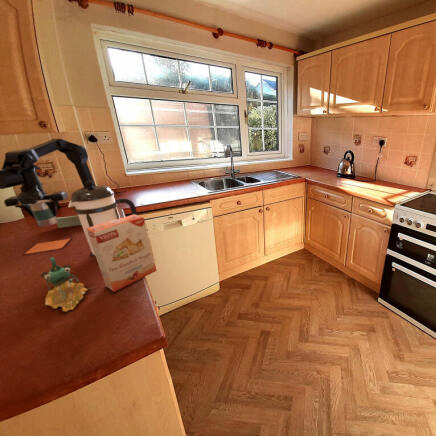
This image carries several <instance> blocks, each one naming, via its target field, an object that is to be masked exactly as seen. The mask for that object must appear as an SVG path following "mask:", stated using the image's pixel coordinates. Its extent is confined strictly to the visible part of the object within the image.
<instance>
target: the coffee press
mask: <svg viewBox="0 0 436 436" xmlns="http://www.w3.org/2000/svg"><path fill="white" fill-rule="evenodd" d="M85 184H86V186H88V187H84V186H83V187H81V188H78V189H75V190H74V191H73V192H72V193H71V196H70V200H69V203H68V208H73V207H74V211H75V213H76V215H78V216H79V219H80V222H81V224H82V225H81V226H82V227H81V228H82V229H83V233H84V236H85V238H86V241H87V243H88V246H89V249H90V255H91V256H95V253H94V250H93V247H92V244H91V241H90V238H89V235H88V232H87V230H86V228H89V227H92V226H96V225H99V224H103V223H106V222H110V221H113V220H117V219H120V218H121V216H120V212H119V209H118V205H119V204H127V205H128V207H129V209H130V211H131V212H130V213H131V215H134V214H135V215H138V211H137V207H136V206H135V203H134V202H133V201H132V200H130V199H128V198H118V199H115V192H114V190H112V189H111V188H110V187H109V186H106V185H96V186H92V185H93V182H92V181H86V182H85ZM138 216H139V215H138Z"/></svg>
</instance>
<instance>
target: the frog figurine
mask: <svg viewBox="0 0 436 436" xmlns="http://www.w3.org/2000/svg"><path fill="white" fill-rule="evenodd" d="M49 261H50V263H51V265H52V267H50V268H49V271H48V272H47V271H44V272H42V273H41V275H40V278H44V279H45V280H46V283H47V284H46V286H47V287H48V291H47V294H46V296H45V298H44V299H45V306H49V307H51V308H52V309H58V308H61V309H62V312H68V311H70V310H74V308H76V307H77V305H78V304H79V303H80V302H81V301H82V300H83V298H84V295H86V292H88V288H86V287H85V285H84V283H82V282H80V280H79V279H78V278H77V276H76V275H74V274H72V273H70V272H71V266H70V265H69V264H64V265H63V266H61V265H58V264H57V262H56V258H55V257H53V256H51V257H49ZM71 277H72V278H71ZM74 279H76V282H74V281H73V280H74ZM77 282H78V283H77ZM49 283H50V284H51V285H53V288H52V289H50V284H49Z"/></svg>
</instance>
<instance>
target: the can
mask: <svg viewBox="0 0 436 436" xmlns="http://www.w3.org/2000/svg"><path fill="white" fill-rule="evenodd" d="M49 202H50V199H48V200H39V201H38V202H37V203H35V204H29V206H30V208H31V211H32V213H33V215H34V217H35V219H34V220H35V221H36V223H37V225H38V227H48V226H49V227H50V226H52V225H55V224H57V222H58V220H57V218H58V217H57V216H54V214H53V212H52V209H51V206H50V205H49V204H48V203H49Z"/></svg>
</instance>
